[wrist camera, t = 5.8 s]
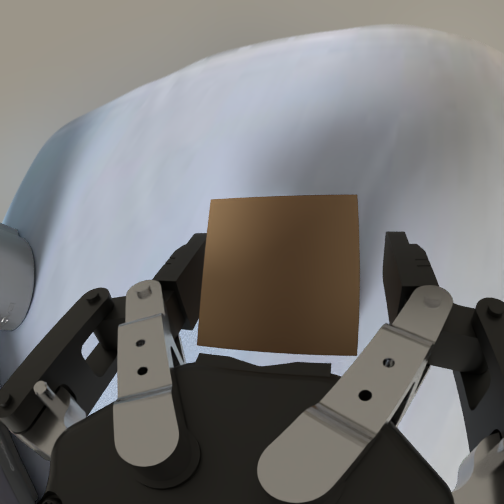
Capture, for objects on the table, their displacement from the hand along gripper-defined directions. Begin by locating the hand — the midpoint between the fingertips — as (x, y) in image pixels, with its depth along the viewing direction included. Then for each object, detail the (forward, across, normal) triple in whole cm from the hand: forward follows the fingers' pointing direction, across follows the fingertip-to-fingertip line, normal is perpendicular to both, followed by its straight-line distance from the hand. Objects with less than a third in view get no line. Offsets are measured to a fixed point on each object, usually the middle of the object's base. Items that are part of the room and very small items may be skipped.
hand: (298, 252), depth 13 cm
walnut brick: (+2, 0, +4) cm, 5 cm away
